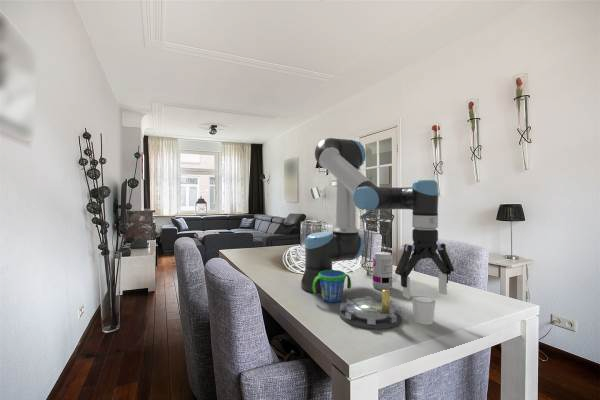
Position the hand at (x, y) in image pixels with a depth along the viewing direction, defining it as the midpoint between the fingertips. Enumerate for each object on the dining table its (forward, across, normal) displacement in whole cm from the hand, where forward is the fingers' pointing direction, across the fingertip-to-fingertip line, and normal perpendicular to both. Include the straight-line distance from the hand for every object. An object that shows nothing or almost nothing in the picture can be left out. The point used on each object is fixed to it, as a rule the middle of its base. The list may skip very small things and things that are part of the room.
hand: (424, 295), depth 95 cm
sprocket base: (+8, -15, +8) cm, 19 cm away
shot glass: (+8, 0, 0) cm, 9 cm away
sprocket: (+7, -15, +8) cm, 18 cm away
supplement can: (+8, +6, +34) cm, 36 cm away
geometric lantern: (+8, +14, +54) cm, 57 cm away
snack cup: (+8, -21, +26) cm, 35 cm away
